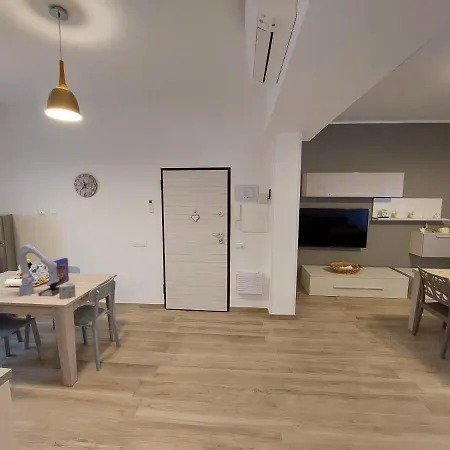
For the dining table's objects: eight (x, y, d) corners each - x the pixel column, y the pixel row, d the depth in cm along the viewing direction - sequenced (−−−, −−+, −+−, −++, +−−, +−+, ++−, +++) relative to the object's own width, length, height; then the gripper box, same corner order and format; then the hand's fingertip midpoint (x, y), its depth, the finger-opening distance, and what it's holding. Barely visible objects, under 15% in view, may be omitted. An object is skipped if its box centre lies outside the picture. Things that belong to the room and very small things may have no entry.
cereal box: (57, 286, 253) (56, 261, 251) (52, 286, 253) (51, 261, 251) (68, 280, 270) (67, 258, 268) (64, 280, 270) (63, 257, 268)
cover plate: (41, 295, 226) (41, 293, 226) (47, 292, 234) (47, 290, 234) (52, 295, 226) (52, 293, 226) (57, 292, 234) (57, 290, 234)
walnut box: (38, 296, 225) (38, 293, 225) (51, 290, 242) (51, 286, 242) (53, 296, 225) (53, 293, 225) (65, 290, 242) (65, 286, 242)
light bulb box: (72, 294, 231) (72, 282, 230) (75, 296, 227) (75, 284, 226) (58, 298, 223) (58, 285, 222) (62, 299, 218) (61, 287, 217)
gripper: (52, 278, 227) (53, 293, 228) (62, 274, 241) (62, 288, 242) (44, 278, 227) (44, 293, 228) (54, 274, 241) (55, 288, 242)
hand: (53, 291), depth 235 cm, fingers closed
